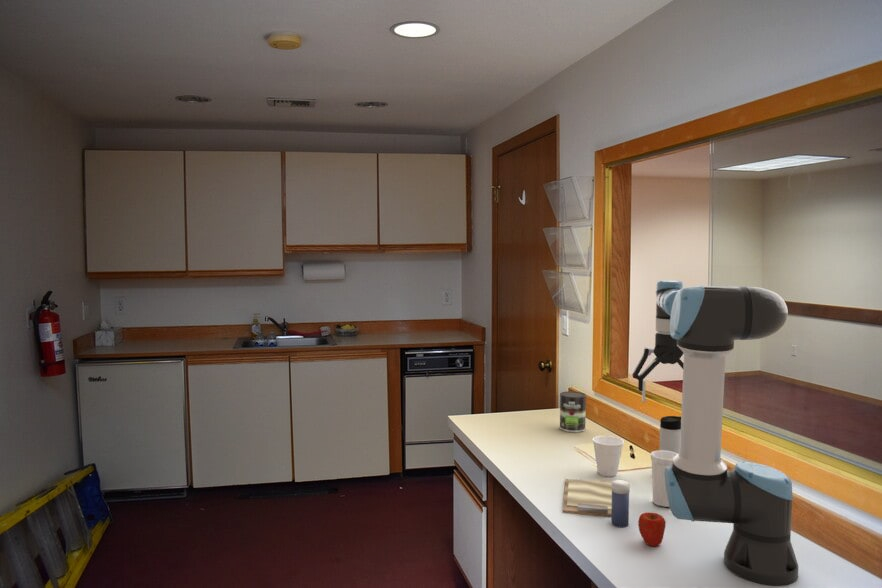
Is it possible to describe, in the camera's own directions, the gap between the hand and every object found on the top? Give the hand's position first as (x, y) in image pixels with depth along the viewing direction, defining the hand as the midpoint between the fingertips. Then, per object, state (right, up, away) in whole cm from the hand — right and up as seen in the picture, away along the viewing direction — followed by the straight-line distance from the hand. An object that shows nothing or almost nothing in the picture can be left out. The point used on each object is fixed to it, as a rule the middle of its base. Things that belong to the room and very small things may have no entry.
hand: (667, 403), depth 189 cm
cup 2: (-4, -27, -9) cm, 29 cm away
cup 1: (-14, -26, +15) cm, 33 cm away
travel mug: (+4, -26, +9) cm, 28 cm away
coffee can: (-15, -22, +64) cm, 69 cm away
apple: (-16, -29, -33) cm, 47 cm away
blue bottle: (-20, -28, -22) cm, 41 cm away
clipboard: (-24, -27, -5) cm, 36 cm away
